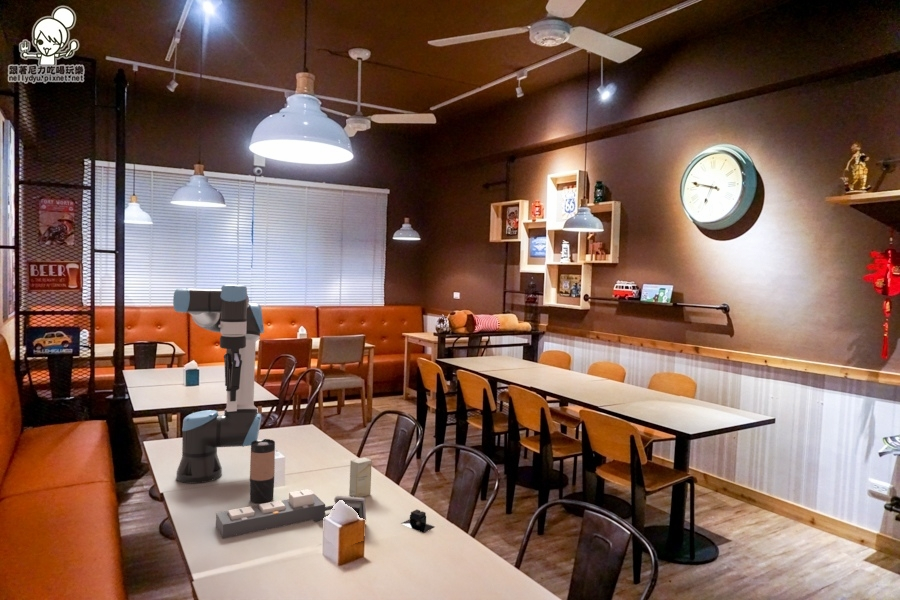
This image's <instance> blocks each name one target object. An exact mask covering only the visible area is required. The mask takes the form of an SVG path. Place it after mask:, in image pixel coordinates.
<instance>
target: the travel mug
mask: <svg viewBox="0 0 900 600" xmlns="http://www.w3.org/2000/svg"><path fill="white" fill-rule="evenodd" d="M275 451H276V442H275V440H274V439H268V438H264V439H262V440H261V441H260V440H259V441H258V439H257V440H255V441H253V442H251V446H250V458H249V459H250V462H249V463H250V469H249V499H250V500H249V501H250V503H252V504H255V505H259V504H264V503H269V502H273V501H274V500H273V499H274V491H275V490H274V489H275V488H274V487H275V468H276V467H275V465H276V464H275V463H276V462H275V460H276V459H275V458H276V454H275V453H276V452H275Z"/></svg>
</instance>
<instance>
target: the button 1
mask: <svg viewBox="0 0 900 600" xmlns="http://www.w3.org/2000/svg"><path fill="white" fill-rule="evenodd" d="M251 506H252V505H251ZM251 506H246V507H239V508H234V509H229V510H227V511H228V517H229V518H230V520H234V519H239V518H244V517H249V516H254V510H253V509H252V508H251Z"/></svg>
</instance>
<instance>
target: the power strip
mask: <svg viewBox="0 0 900 600" xmlns="http://www.w3.org/2000/svg"><path fill="white" fill-rule="evenodd" d="M281 501H282V503H283V504H284V505H285V510H280V511H274V512H269V513H264V514H262V512H261V511H260V510H259V504H255V505H251V508H252V509H253V510H254V516H249V517H244V518H239V519H234V520H230V518H229V517H228V510H224V511H218V512H215V528H216V529H217V531H218V533H219V535H220V536H221V538H222V539H228V538H229V539H230V538H233V537H239V536H243V535H246V534H247V535H248V534H252V533H256V532H261V531H267V530H271V529H275V528H279V527H284V526H290V525H293V524H298V523H303V522H304V523H305V522H308V521H313V522H314V523H318V522H322V521H324V520H323V518H324V517H325V518H326V511H331V509H332V508H333V506H334V505H335V504H333V505H329V506H326V503H325V502H324V501H322V500H321V499H320V498H319V497H318V496H317V495H316V494H315V493H314V504H310V505H305V506H300V507H295V508H293V507H292V506H291V505H290V504H289V498H288V499H287V498H286V499H282V500H281ZM332 510H333V509H332Z"/></svg>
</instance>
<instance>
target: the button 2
mask: <svg viewBox="0 0 900 600" xmlns="http://www.w3.org/2000/svg"><path fill="white" fill-rule="evenodd" d="M258 505H259V510H260V511H261V512H262V514H264V513H269V512H274V511H280V510H285V505H284V504H283V503H282V500H281V499H280V500H273V501H271V502H268V503H264V504H258Z"/></svg>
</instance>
